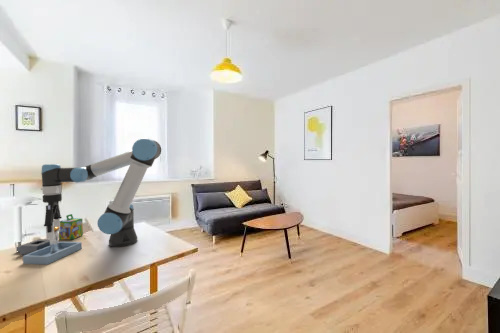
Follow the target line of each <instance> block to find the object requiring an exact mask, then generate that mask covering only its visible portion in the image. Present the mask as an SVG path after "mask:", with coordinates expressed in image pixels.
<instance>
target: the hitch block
mask: <svg viewBox="0 0 500 333" xmlns="http://www.w3.org/2000/svg"><path fill="white" fill-rule="evenodd" d="M48 246H50V239H47V238H46V239H43V238H39V239H35V240H33V241H30V242H27V243H24V244H20V245H18V246H16V248H15V249H16V252H17V251H18V252H17V253H19V252H20V254H19V255H20V256H24V255H27V254H30V253H32V252H35V251H37V250H40V249H43V248H45V247H48Z"/></svg>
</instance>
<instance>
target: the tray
mask: <svg viewBox="0 0 500 333" xmlns="http://www.w3.org/2000/svg"><path fill="white" fill-rule="evenodd" d="M82 244H83V243H82V242H81V241H79V242H78V241H58V247H59V251H58V252H56V253H53V254H51V255H50V246H48V247H45V248H43V249H40V250H37V251H35V252H32V253H30V254H27V255H22V263H23V265H26V264H27V265H49V264H51V263H53V262H55V261H58V260H60V259H62V258H64V257H66V256H69V255H70V254H73V253H75V252H77V251H79V250H82V248H83V247H82Z"/></svg>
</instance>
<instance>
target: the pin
mask: <svg viewBox="0 0 500 333" xmlns="http://www.w3.org/2000/svg"><path fill="white" fill-rule="evenodd" d="M58 229H59V227H54V238H52V239H49V240H50V255H51V254H53V253H56V252H58V251H59V247H58V242H59V231H58Z"/></svg>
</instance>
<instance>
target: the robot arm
mask: <svg viewBox="0 0 500 333" xmlns="http://www.w3.org/2000/svg"><path fill="white" fill-rule="evenodd" d="M161 154H162V147H161V145H160V143H159V142H158V141H156V140H154V139H151V138H148V137H144V138H143V137H142V138H139V139H138V140H135V142H133V145H132V147H131V150H130V151H127V152H126V151H125V152H124V153H123V152H122V153H120V154H118V155H115V156H112V157H109V158H106V159H103V160H100V161H97V162H94V163H91V164H88V165H86V166H80V167H62V166H61V164H59V163H58V164H57V163H56V164H55V163H51V164H50V163H49V164H48V163H47V164H43V165H42V166H41V173H40V174H41V184H42V186H41V188H40V190H41V191H42V194H43V195H42V202H43V203H46V204H47V205H45V217H44V224H43V227H45V228H46V229H45V230H46V231H45V232H46V239H49V240H50V239H52V238H54V227H59V229H58V232H59V231H60V221H61V219H62V215H61V209H60V205H59V204H60V203H59V202H62V200H63V198H62V194H61V193H62V183H82V182H85V181H89V180H90V181H91V180H92V179H94V178H97V177H100V176H102V175H105V174H107V173H111V172H114V171H116V170H119V169H122V168H125V167H127V166H128V169H127V171H126V173H125V176H124V178H123V179H122V182H121V183H120V185H119V188H118V190H117V192H116V194H115V197H114V199H113V201H112V202H111V203H109V204H107V207H106V208H105V211H104V212H103V214H101V215H100V216H99V217H98V219H97V227H98V229H99V231H100V232H101V233H103V234H106V235H110V236H109V239H108V246H109V247H113V248H121V247H126V246H127V247H128V246H131V245H134V244H135V243H137V242H138V235H137V233H136V230H135V224H134V223H135V220H134V218H135V217H134V216H135V214H134V205H133V204H132V202H133V200H134V198H135V196H136V194H137V192H138V189H139V187H140V185H141V183H142V181H143V179H144V176H145V174H146V173H147V170H148V169H149V168H151V167H152V166H153V164H154V162H155V160H156V159H158V158H159V157H160V156H161Z"/></svg>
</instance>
